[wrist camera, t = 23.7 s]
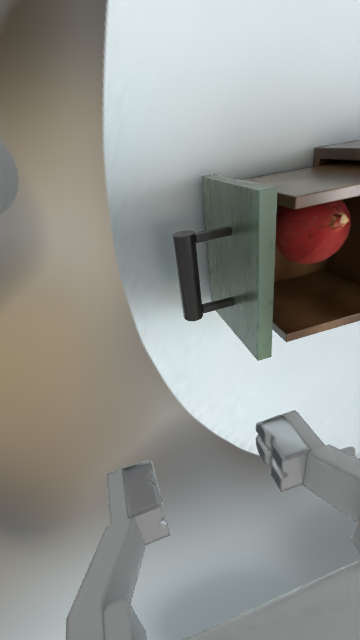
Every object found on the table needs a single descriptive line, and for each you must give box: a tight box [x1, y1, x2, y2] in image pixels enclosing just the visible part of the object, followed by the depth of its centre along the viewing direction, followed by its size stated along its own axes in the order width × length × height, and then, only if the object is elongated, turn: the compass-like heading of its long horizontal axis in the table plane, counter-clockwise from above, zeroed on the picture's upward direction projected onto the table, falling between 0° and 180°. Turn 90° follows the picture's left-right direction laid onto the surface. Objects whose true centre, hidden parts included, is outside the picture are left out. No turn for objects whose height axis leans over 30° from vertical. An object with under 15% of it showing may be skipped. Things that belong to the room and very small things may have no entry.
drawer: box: [173, 162, 360, 361], centre depth 26 cm, size 18×13×10 cm
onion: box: [275, 200, 351, 264], centre depth 25 cm, size 6×6×8 cm
